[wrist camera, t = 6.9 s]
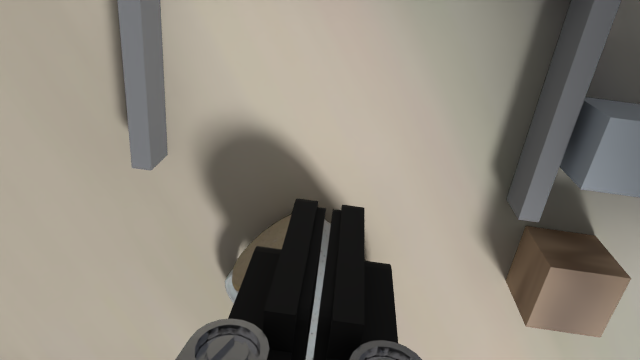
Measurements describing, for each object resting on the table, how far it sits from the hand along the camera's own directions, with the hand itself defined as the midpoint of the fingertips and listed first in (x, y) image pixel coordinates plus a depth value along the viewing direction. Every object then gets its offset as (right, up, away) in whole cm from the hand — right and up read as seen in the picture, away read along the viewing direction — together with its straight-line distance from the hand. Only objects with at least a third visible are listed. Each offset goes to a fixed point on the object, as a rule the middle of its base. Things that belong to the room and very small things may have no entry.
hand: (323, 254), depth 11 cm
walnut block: (+15, -3, +19) cm, 25 cm away
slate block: (+16, +5, +15) cm, 23 cm away
